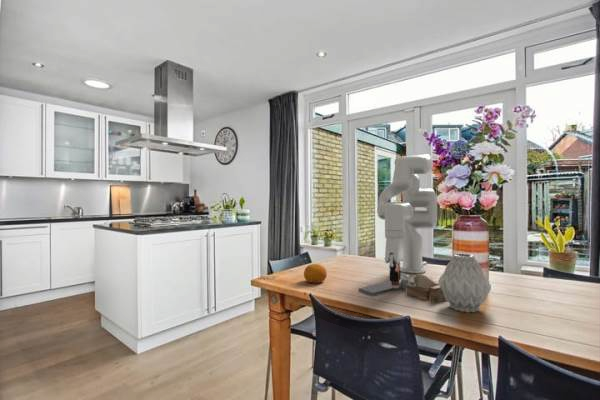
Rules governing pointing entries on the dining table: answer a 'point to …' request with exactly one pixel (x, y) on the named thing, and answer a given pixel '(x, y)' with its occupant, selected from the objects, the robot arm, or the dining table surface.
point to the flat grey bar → (381, 288)
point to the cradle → (426, 292)
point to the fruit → (315, 273)
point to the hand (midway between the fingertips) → (395, 279)
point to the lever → (404, 279)
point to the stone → (423, 281)
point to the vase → (464, 283)
